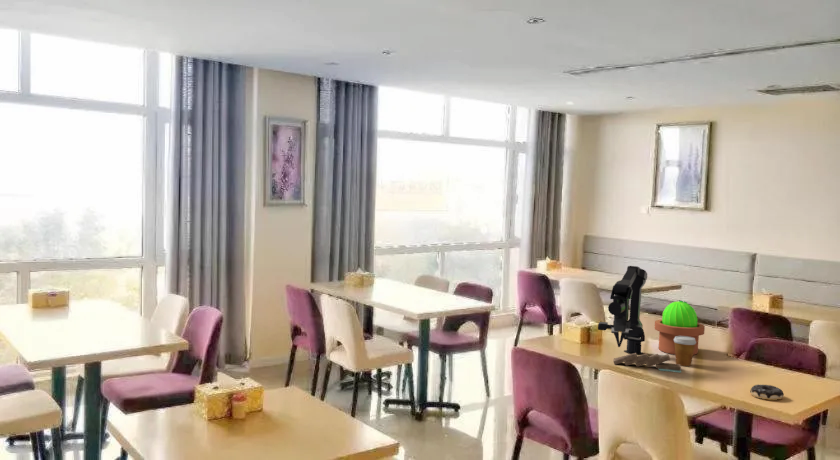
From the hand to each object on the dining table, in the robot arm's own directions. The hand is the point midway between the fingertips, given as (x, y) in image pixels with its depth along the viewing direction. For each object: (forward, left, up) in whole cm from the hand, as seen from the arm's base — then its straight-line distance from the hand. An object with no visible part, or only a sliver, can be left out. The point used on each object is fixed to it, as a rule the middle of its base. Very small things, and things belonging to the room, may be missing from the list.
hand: (619, 346), depth 311 cm
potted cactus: (-12, +45, -8) cm, 47 cm away
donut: (+57, +25, -8) cm, 62 cm away
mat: (+14, +17, -8) cm, 23 cm away
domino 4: (+8, +9, -6) cm, 14 cm away
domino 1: (-1, -1, -7) cm, 7 cm away
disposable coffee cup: (+9, +29, -8) cm, 31 cm away
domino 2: (+2, +2, -7) cm, 7 cm away
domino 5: (+10, +12, -6) cm, 17 cm away
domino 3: (+5, +6, -7) cm, 10 cm away
